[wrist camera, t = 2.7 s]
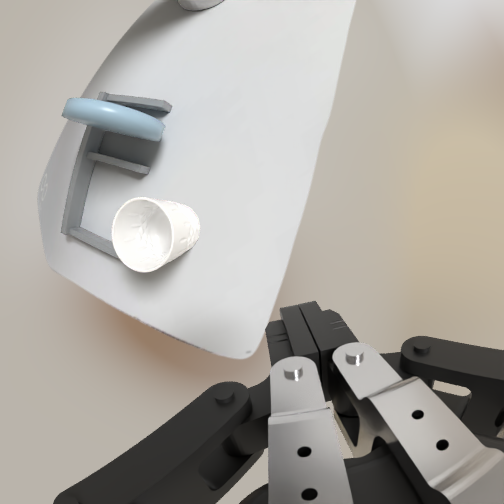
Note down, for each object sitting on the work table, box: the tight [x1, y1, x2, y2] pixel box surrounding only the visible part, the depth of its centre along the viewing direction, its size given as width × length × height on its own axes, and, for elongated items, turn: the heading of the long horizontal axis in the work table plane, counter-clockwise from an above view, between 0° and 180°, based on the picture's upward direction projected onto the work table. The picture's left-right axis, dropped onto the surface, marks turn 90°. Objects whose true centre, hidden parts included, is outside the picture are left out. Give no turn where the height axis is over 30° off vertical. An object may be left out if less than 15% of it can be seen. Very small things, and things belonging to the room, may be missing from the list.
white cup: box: [112, 197, 200, 272], centre depth 32 cm, size 8×8×10 cm
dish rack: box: [61, 92, 172, 258], centre depth 30 cm, size 15×23×14 cm, turn 160°
